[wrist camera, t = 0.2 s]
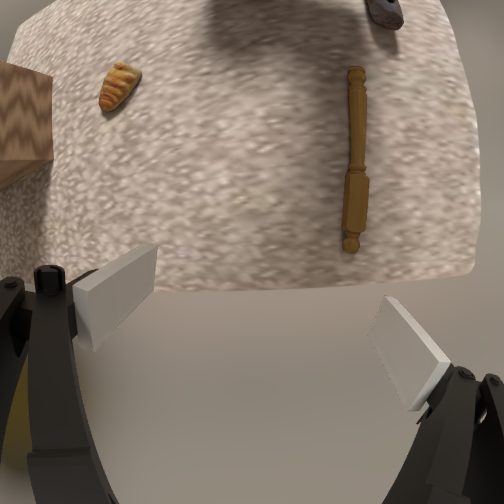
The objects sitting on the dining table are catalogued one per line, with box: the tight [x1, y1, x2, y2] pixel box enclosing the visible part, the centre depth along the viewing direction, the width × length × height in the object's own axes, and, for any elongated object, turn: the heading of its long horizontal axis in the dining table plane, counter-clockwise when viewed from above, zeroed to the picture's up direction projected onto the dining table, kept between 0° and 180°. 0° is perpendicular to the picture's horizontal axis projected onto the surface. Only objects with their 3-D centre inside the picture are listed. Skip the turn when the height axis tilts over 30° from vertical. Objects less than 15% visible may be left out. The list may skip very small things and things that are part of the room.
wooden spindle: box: [342, 66, 370, 253], centre depth 37 cm, size 3×3×30 cm
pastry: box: [99, 62, 142, 112], centre depth 36 cm, size 9×7×4 cm
